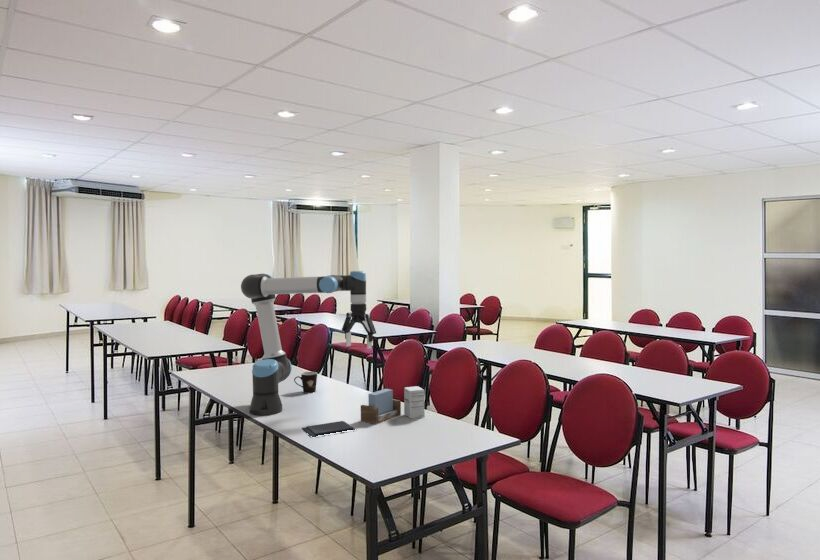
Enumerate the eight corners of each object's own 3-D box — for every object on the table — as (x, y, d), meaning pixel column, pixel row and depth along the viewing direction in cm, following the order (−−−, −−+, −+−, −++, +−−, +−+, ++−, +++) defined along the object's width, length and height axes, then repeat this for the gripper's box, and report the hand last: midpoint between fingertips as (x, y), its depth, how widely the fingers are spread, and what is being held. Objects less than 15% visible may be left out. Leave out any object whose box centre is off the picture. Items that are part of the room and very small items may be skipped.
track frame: (376, 424, 240) (376, 408, 240) (360, 420, 246) (360, 405, 246) (400, 415, 254) (400, 400, 254) (385, 412, 259) (385, 397, 259)
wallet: (311, 435, 222) (300, 425, 236) (311, 439, 223) (300, 429, 236) (357, 427, 231) (345, 418, 245) (358, 432, 232) (345, 422, 245)
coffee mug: (319, 390, 303) (319, 371, 303) (315, 393, 295) (314, 375, 294) (298, 389, 304) (298, 371, 304) (293, 393, 296) (293, 374, 295)
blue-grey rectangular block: (375, 420, 244) (375, 395, 243) (368, 418, 246) (368, 393, 246) (392, 413, 253) (392, 389, 253) (386, 412, 256) (385, 388, 255)
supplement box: (403, 414, 255) (403, 387, 254) (418, 412, 258) (418, 385, 257) (409, 419, 248) (409, 390, 248) (425, 417, 251) (424, 389, 250)
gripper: (383, 303, 263) (383, 348, 263) (345, 301, 278) (345, 343, 279) (372, 305, 257) (373, 350, 258) (334, 302, 272) (334, 345, 273)
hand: (358, 347), depth 268 cm, fingers open, 13 cm apart
